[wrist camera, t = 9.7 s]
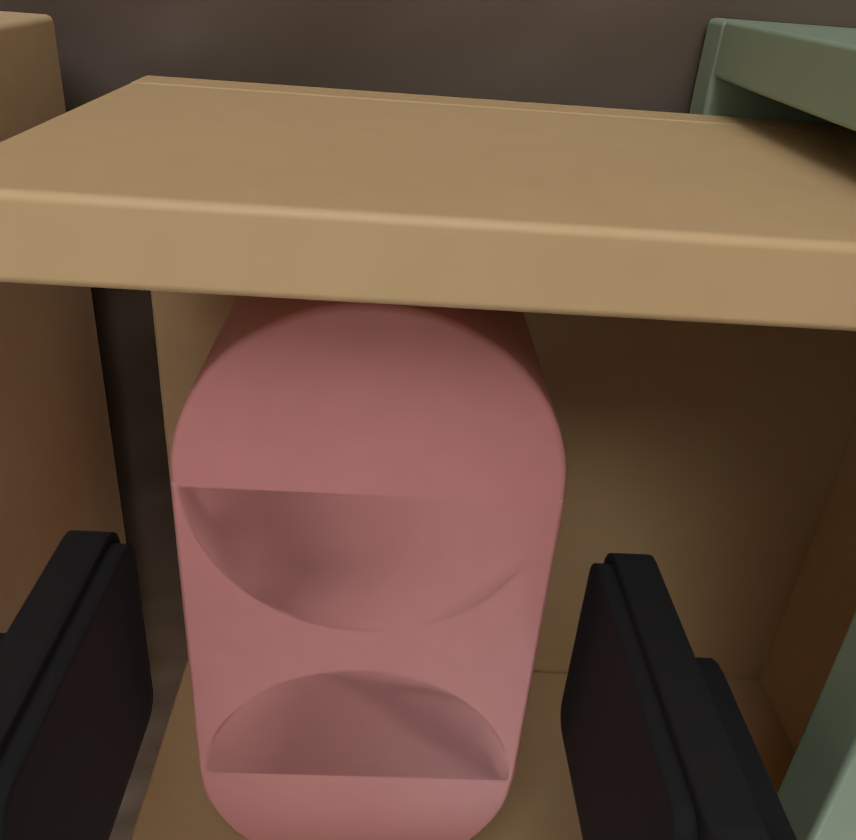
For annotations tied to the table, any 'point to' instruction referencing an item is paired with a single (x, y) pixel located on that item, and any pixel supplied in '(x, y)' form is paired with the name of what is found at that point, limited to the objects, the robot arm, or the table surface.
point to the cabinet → (852, 108)
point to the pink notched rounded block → (364, 564)
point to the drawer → (470, 289)
